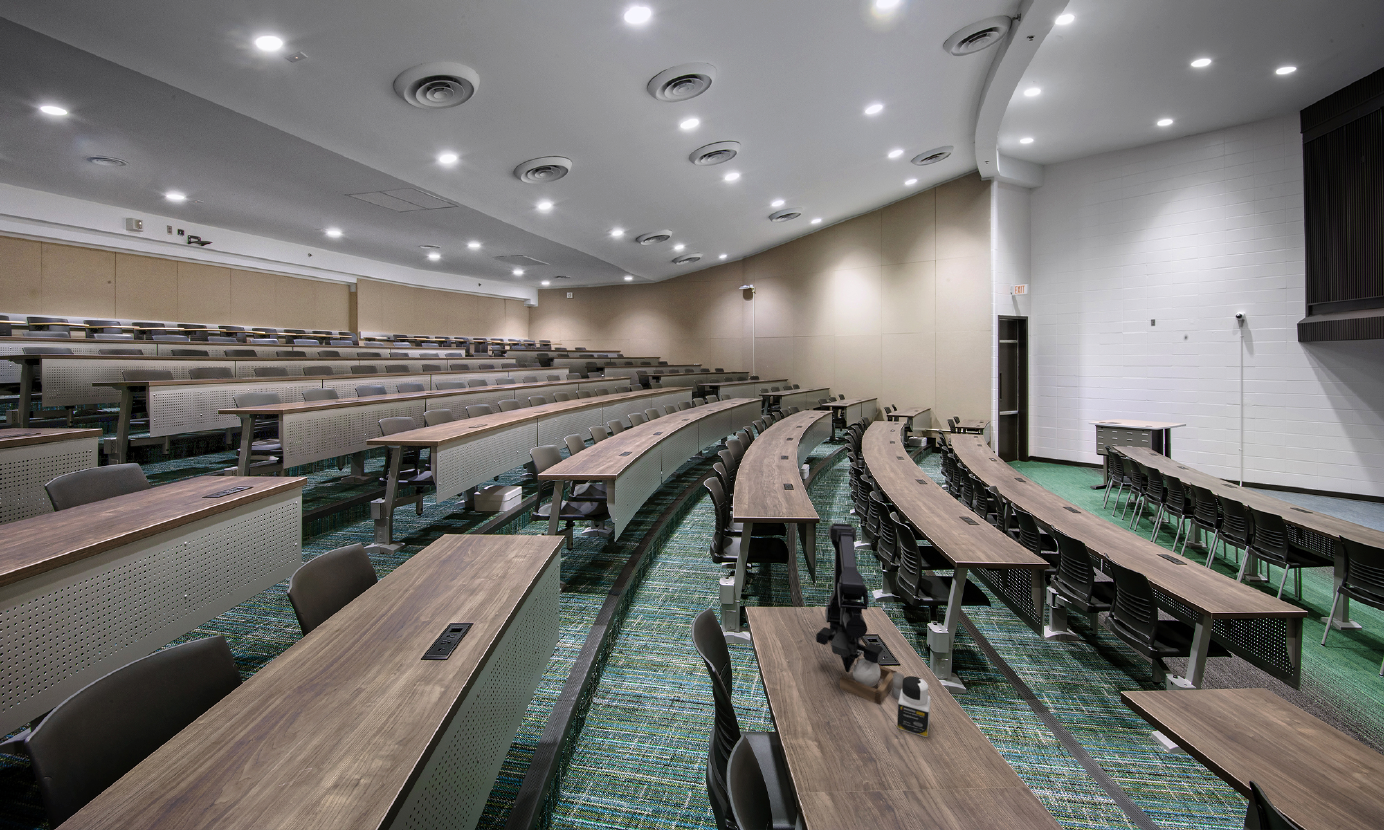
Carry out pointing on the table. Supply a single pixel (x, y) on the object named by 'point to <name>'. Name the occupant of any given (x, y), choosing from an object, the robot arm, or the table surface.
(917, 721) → the medicine bottle
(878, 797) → the table surface
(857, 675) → the white carved ball
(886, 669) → the carrier cradle
